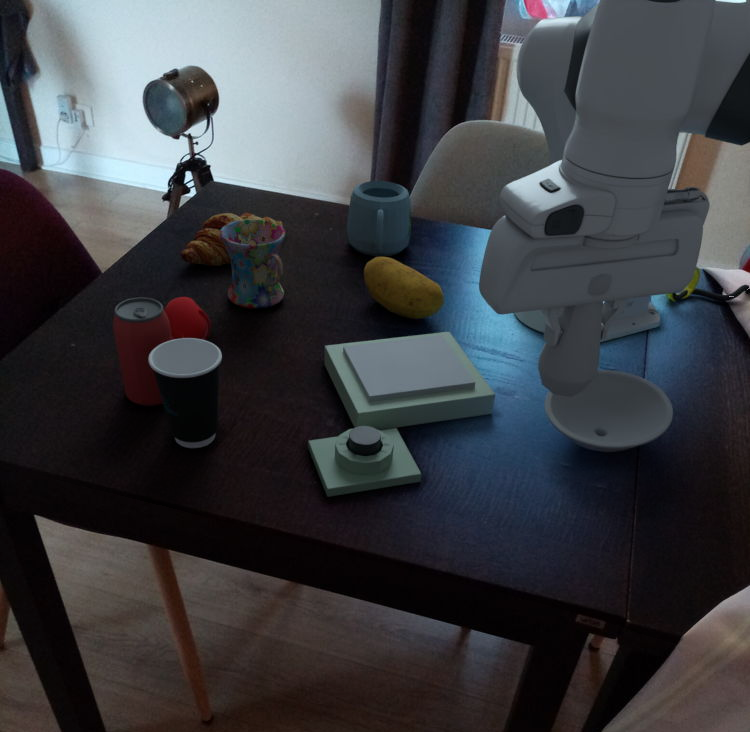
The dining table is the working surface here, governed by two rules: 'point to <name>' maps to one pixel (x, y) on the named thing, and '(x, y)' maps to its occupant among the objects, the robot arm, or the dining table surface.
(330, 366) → the scale
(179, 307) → the cap
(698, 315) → the dining table surface
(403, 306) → the potato
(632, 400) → the dish
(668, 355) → the dining table surface
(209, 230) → the croissant
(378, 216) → the mug
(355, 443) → the tare button
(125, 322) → the beer can
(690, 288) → the watch
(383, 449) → the green dial panel
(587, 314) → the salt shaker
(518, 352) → the dining table surface
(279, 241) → the mug
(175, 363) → the dixie cup
